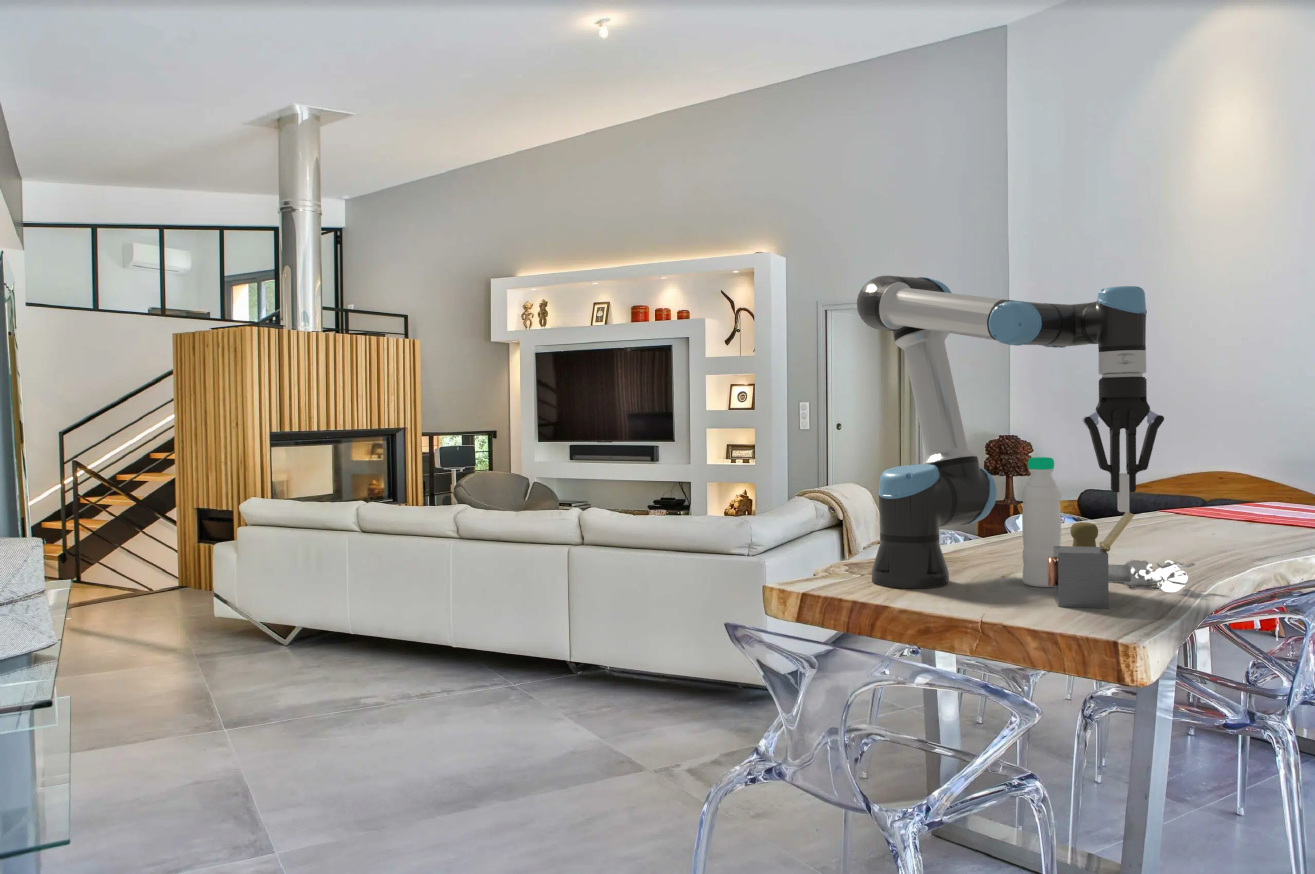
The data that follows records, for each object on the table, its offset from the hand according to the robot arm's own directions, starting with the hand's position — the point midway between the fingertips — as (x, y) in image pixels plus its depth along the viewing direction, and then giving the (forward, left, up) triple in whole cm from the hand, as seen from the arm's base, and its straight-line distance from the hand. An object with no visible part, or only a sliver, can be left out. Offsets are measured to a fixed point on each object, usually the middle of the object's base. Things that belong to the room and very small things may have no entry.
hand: (1123, 510), depth 167 cm
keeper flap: (-1, 0, -4) cm, 4 cm away
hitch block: (-7, 0, -17) cm, 18 cm away
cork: (-3, +28, -17) cm, 33 cm away
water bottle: (-12, +17, -17) cm, 27 cm away
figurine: (+8, +17, -17) cm, 25 cm away
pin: (-6, 0, -14) cm, 15 cm away
